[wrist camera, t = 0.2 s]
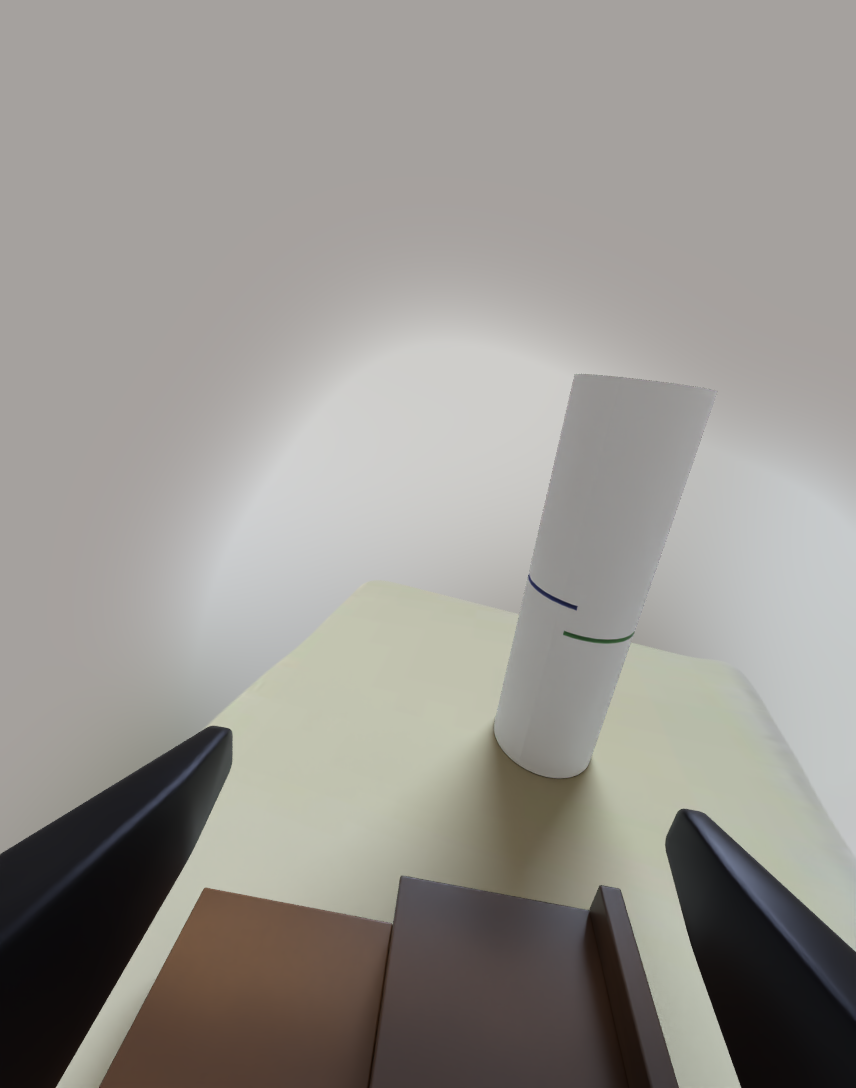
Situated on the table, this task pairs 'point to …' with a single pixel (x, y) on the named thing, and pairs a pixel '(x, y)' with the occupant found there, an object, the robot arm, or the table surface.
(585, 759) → the cylindrical container
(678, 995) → the table surface
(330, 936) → the brown wooden stepped block
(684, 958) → the table surface
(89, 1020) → the robot arm
